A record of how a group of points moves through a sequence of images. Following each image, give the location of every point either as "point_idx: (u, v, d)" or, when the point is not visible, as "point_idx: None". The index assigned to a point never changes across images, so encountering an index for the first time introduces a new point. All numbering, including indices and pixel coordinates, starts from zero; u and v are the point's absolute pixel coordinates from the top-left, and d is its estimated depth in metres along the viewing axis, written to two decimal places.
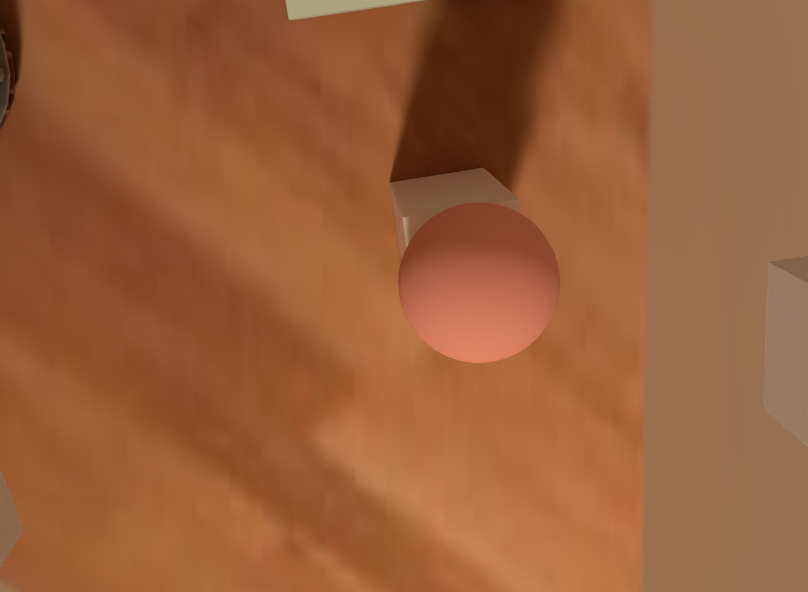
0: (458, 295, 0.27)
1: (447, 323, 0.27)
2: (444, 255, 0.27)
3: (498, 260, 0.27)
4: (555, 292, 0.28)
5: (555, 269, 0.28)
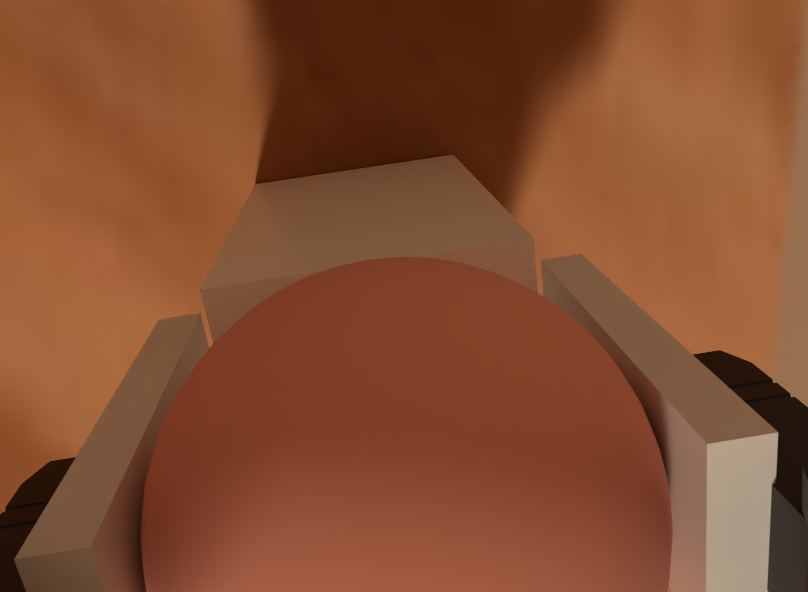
0: None
1: None
2: (245, 486, 0.07)
3: (459, 525, 0.06)
4: (666, 587, 0.08)
5: (666, 503, 0.08)
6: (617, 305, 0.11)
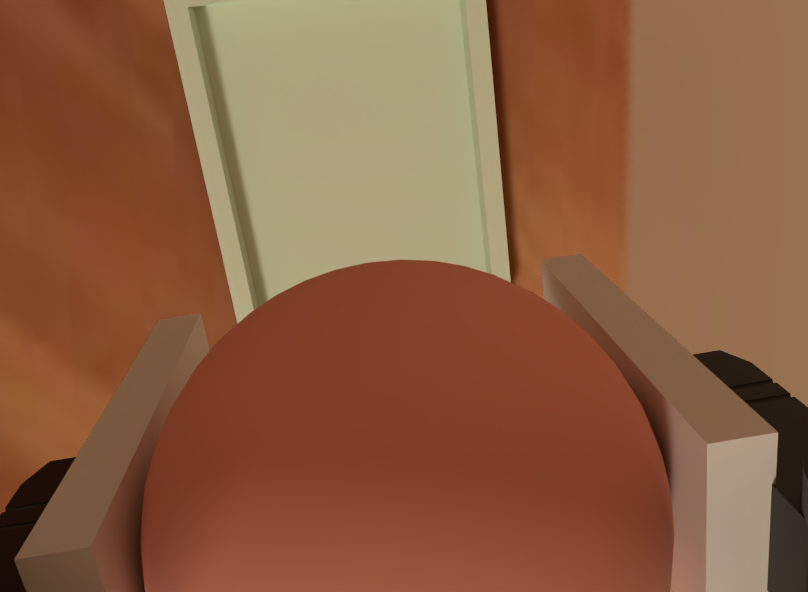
0: None
1: None
2: (244, 491, 0.07)
3: (461, 530, 0.06)
4: (668, 591, 0.08)
5: (668, 507, 0.08)
6: (617, 305, 0.11)
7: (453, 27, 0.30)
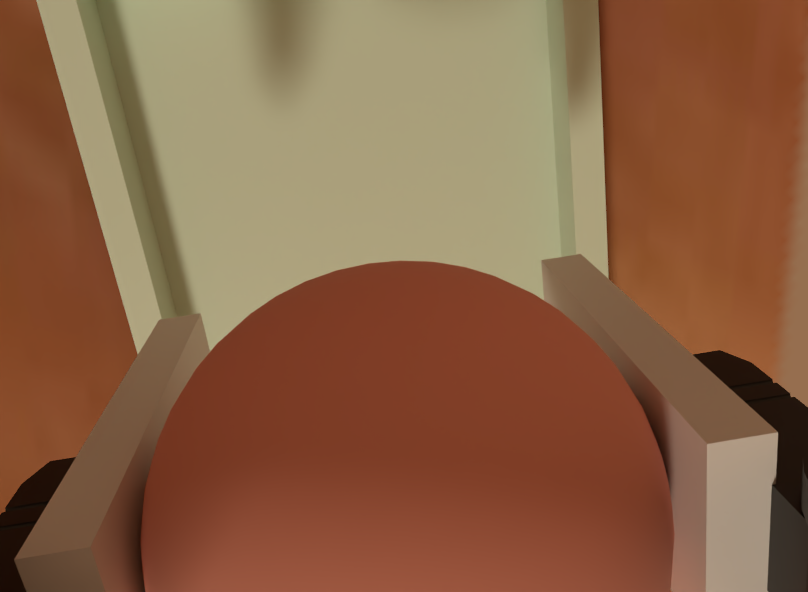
0: None
1: None
2: (245, 492, 0.07)
3: (459, 532, 0.06)
4: None
5: (668, 509, 0.08)
6: (617, 305, 0.11)
7: (532, 22, 0.18)
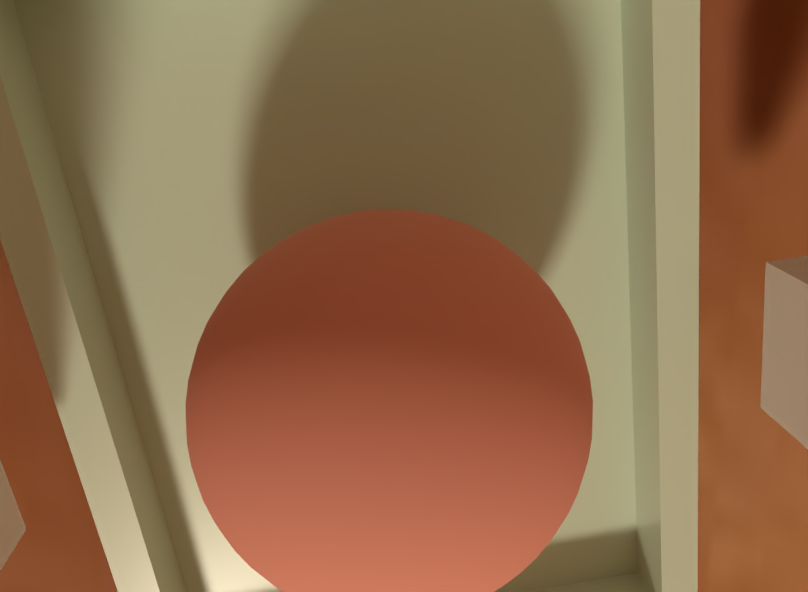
0: (302, 487, 0.09)
1: (280, 554, 0.10)
2: (269, 363, 0.09)
3: (421, 385, 0.09)
4: (584, 453, 0.11)
5: (584, 390, 0.11)
6: None
7: (602, 32, 0.14)
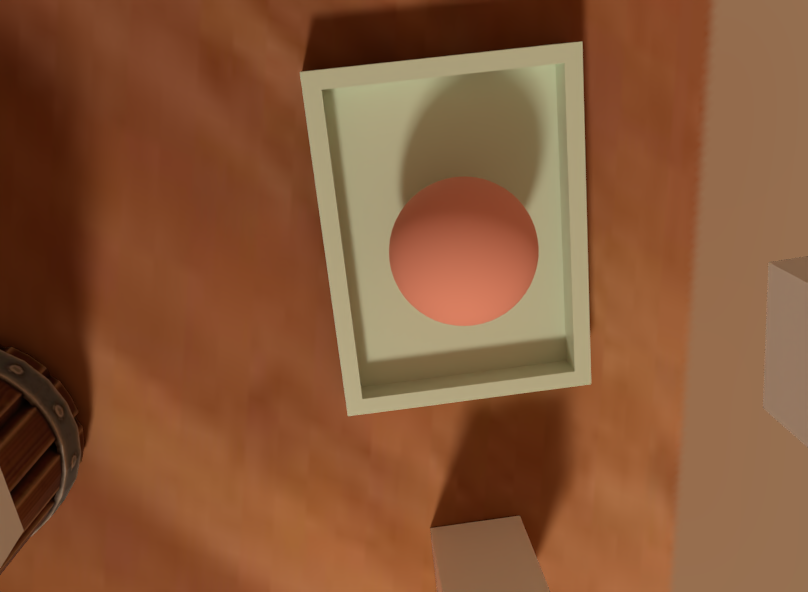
0: (442, 257, 0.29)
1: (432, 283, 0.30)
2: (431, 220, 0.29)
3: (481, 226, 0.29)
4: (533, 261, 0.30)
5: (534, 240, 0.31)
6: None
7: (549, 111, 0.34)
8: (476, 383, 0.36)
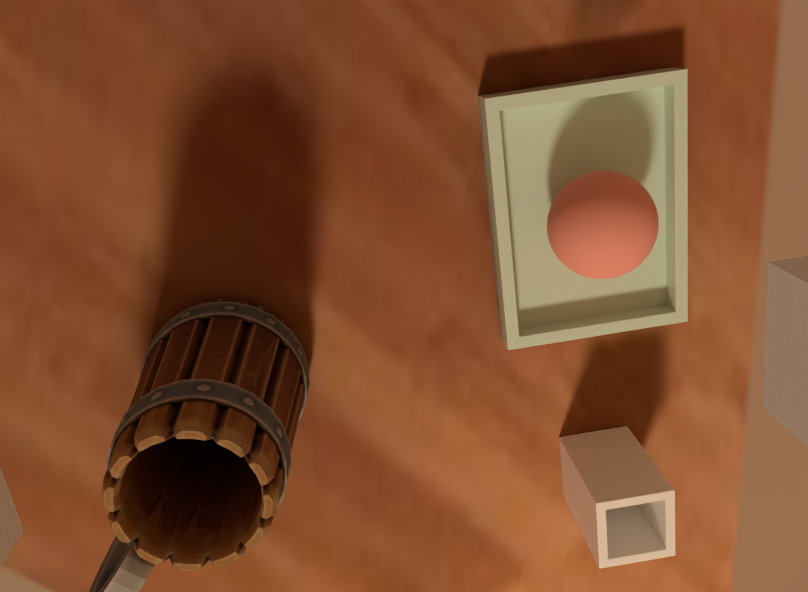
0: (596, 230, 0.41)
1: (587, 249, 0.42)
2: (586, 203, 0.41)
3: (623, 207, 0.41)
4: (657, 230, 0.43)
5: (657, 215, 0.43)
6: None
7: (658, 119, 0.46)
8: (602, 323, 0.48)
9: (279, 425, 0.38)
